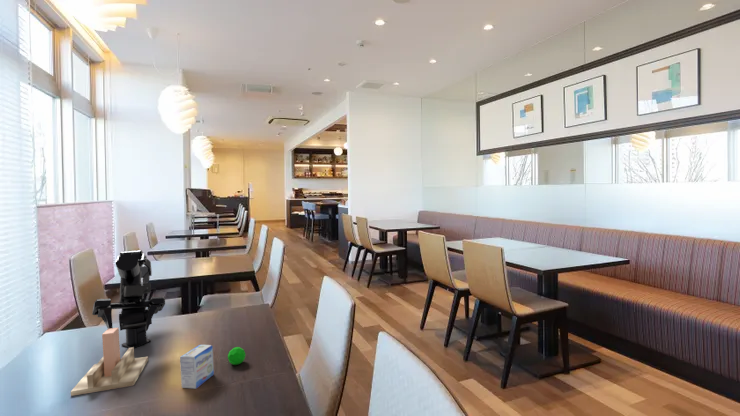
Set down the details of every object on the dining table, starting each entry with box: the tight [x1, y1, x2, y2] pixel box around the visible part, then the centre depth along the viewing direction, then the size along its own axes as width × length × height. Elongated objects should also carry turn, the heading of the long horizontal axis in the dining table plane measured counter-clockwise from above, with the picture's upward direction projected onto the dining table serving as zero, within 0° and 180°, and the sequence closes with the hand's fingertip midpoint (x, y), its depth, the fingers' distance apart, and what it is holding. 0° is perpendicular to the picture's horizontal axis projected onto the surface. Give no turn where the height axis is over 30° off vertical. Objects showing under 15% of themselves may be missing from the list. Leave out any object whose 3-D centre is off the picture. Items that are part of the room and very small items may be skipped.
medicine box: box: [179, 344, 215, 390], centre depth 100 cm, size 8×4×9 cm, turn 169°
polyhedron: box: [227, 346, 246, 366], centre depth 110 cm, size 5×5×5 cm
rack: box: [70, 347, 149, 397], centre depth 104 cm, size 16×14×5 cm
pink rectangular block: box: [101, 326, 121, 377], centre depth 104 cm, size 4×3×12 cm, turn 19°
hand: (129, 331), depth 112 cm, fingers open, 9 cm apart
